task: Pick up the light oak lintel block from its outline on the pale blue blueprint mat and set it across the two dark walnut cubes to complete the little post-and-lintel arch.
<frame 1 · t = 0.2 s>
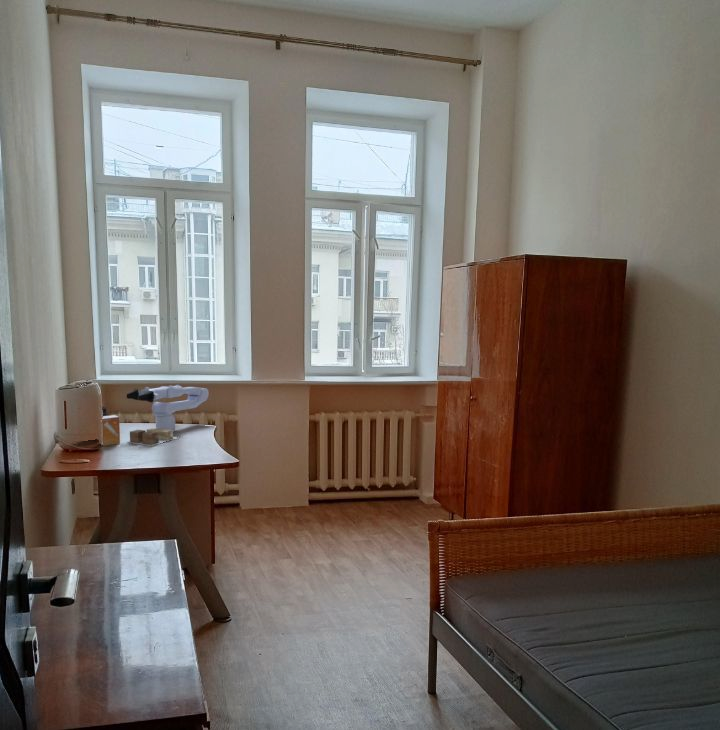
hand: (133, 397, 273), 21 cm above the table, tool horizontal, fingers open, 7 cm apart
cube 2: (150, 442, 267), resting on mat
lintel: (159, 437, 278), resting on mat
cube 1: (138, 441, 270), resting on mat
small box: (109, 444, 267), on the table
storage jar: (97, 438, 279), on the table
mat: (153, 440, 274), on the table
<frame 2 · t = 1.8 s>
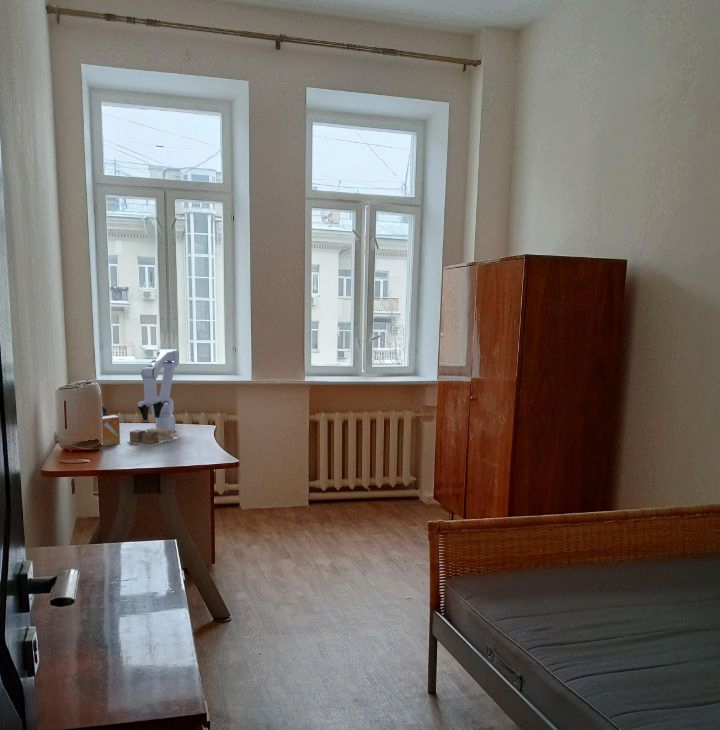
hand: (151, 418, 277), 10 cm above the table, tool pointing down, fingers open, 7 cm apart
nothing on the table moved.
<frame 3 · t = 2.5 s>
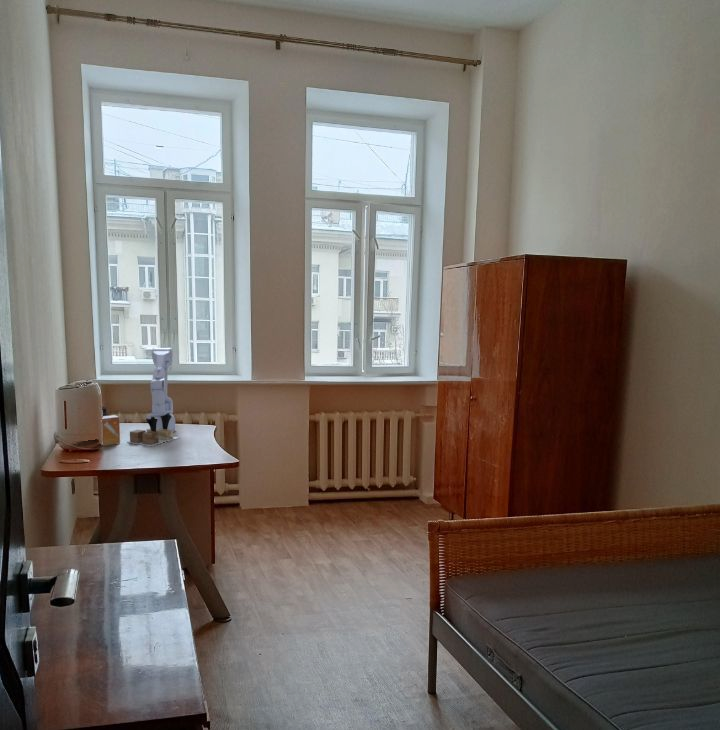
hand: (159, 431, 277), 4 cm above the table, tool pointing down, fingers open, 7 cm apart
nothing on the table moved.
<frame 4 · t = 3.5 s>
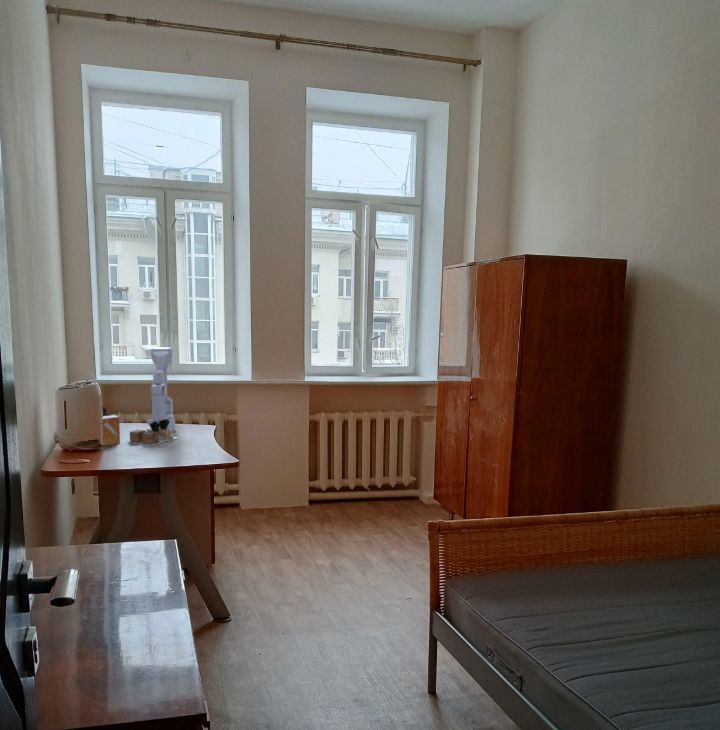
hand: (159, 435, 278), 1 cm above the table, tool pointing down, fingers closed on lintel, 4 cm apart
lintel: (159, 437, 278), resting on mat, touching gripper
everything else where it was.
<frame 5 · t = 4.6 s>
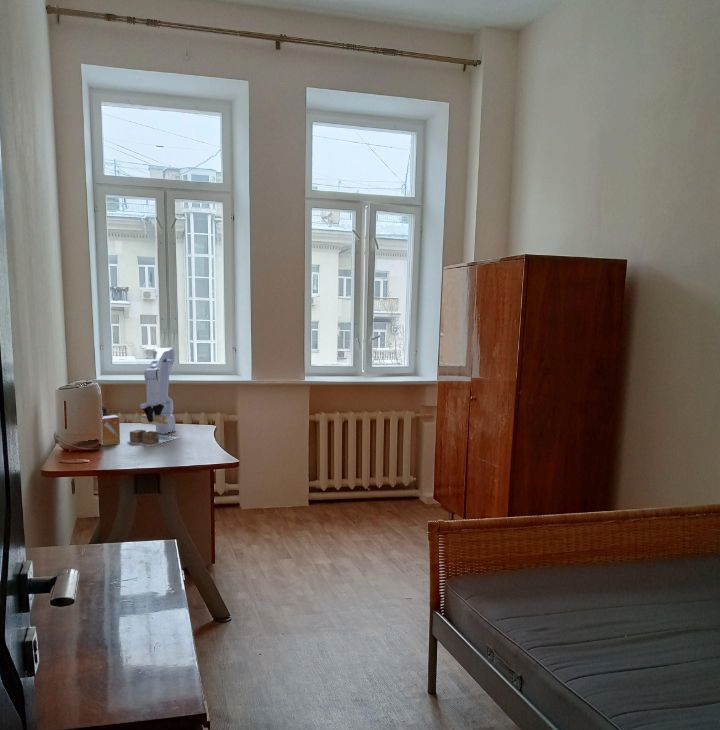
hand: (153, 420, 274), 10 cm above the table, tool pointing down, fingers closed on lintel, 4 cm apart
lintel: (154, 423, 274), point 8 cm above the table, touching gripper
everything else where it was.
when the fingers open (8 cm above the table, at t = 5.7 s): lintel stays where it is, resting on cube 2, cube 1.
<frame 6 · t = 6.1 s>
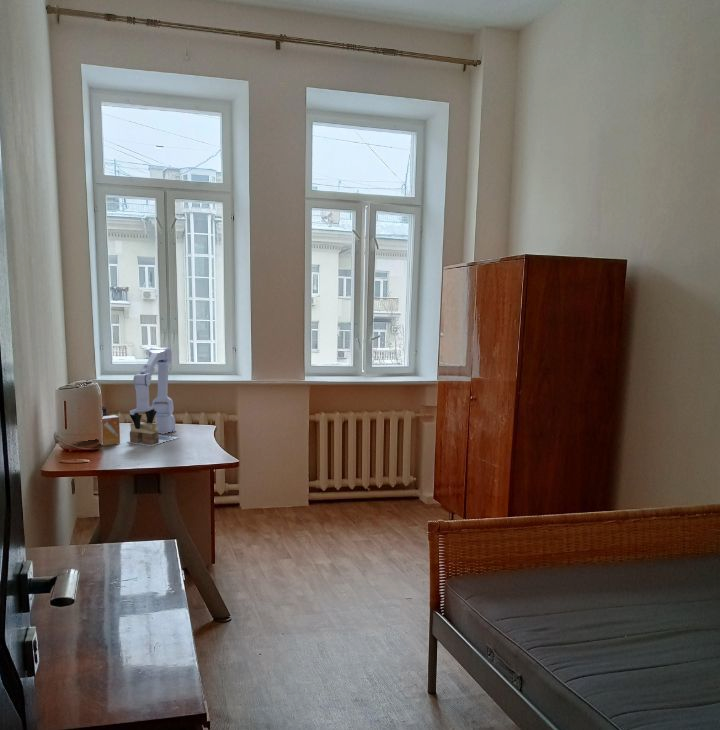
hand: (143, 427, 268), 8 cm above the table, tool pointing down, fingers open, 7 cm apart
cube 2: (150, 442, 267), resting on mat, touching lintel
lintel: (144, 431, 268), point 5 cm above the table, touching cube 2, cube 1
cube 1: (138, 441, 270), resting on mat, touching lintel
everything else where it was.
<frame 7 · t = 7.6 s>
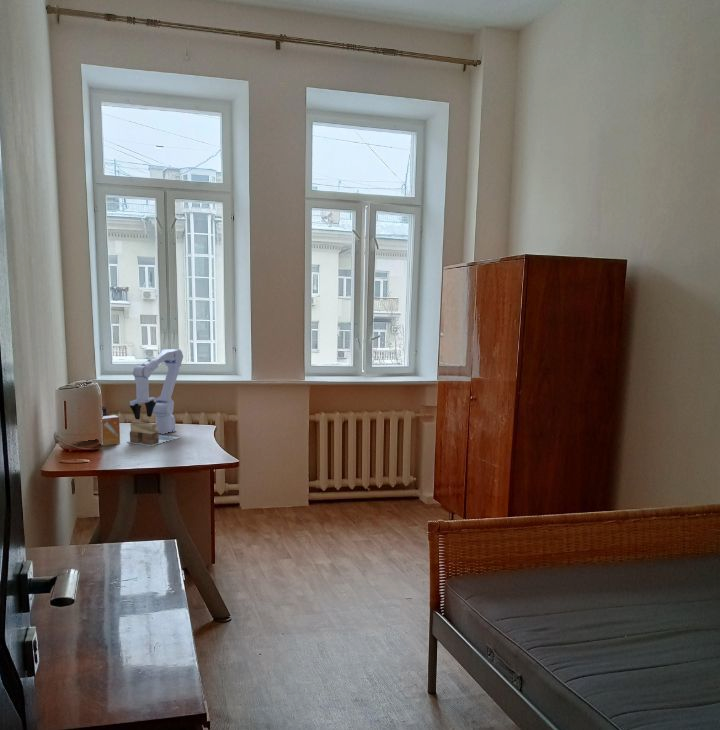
hand: (143, 417, 277), 10 cm above the table, tool pointing down, fingers open, 7 cm apart
nothing on the table moved.
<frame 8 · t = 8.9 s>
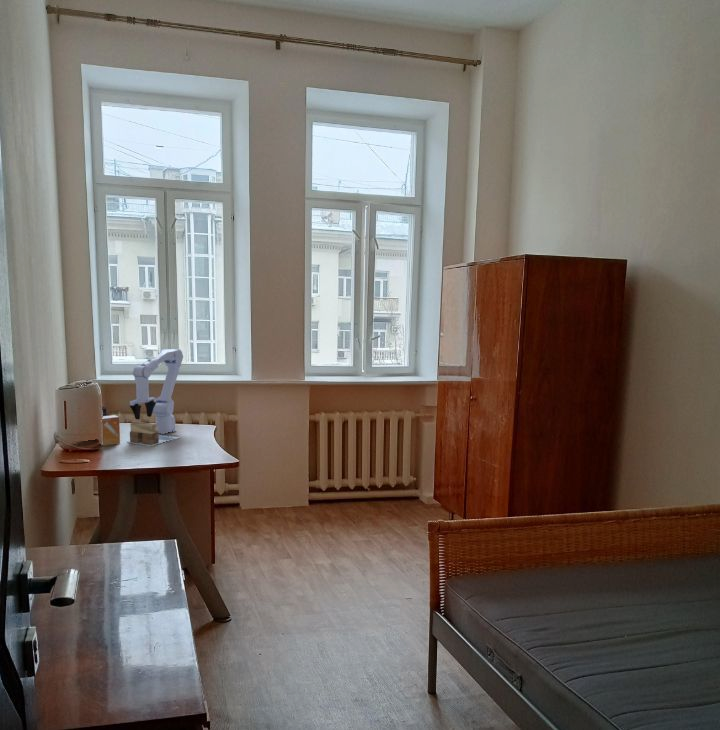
hand: (143, 417, 277), 10 cm above the table, tool pointing down, fingers open, 7 cm apart
nothing on the table moved.
at the end: lintel 0.1 cm from the target spot, point 5.5 cm above the table; lintel tilted 0°; the gripper is holding nothing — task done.
